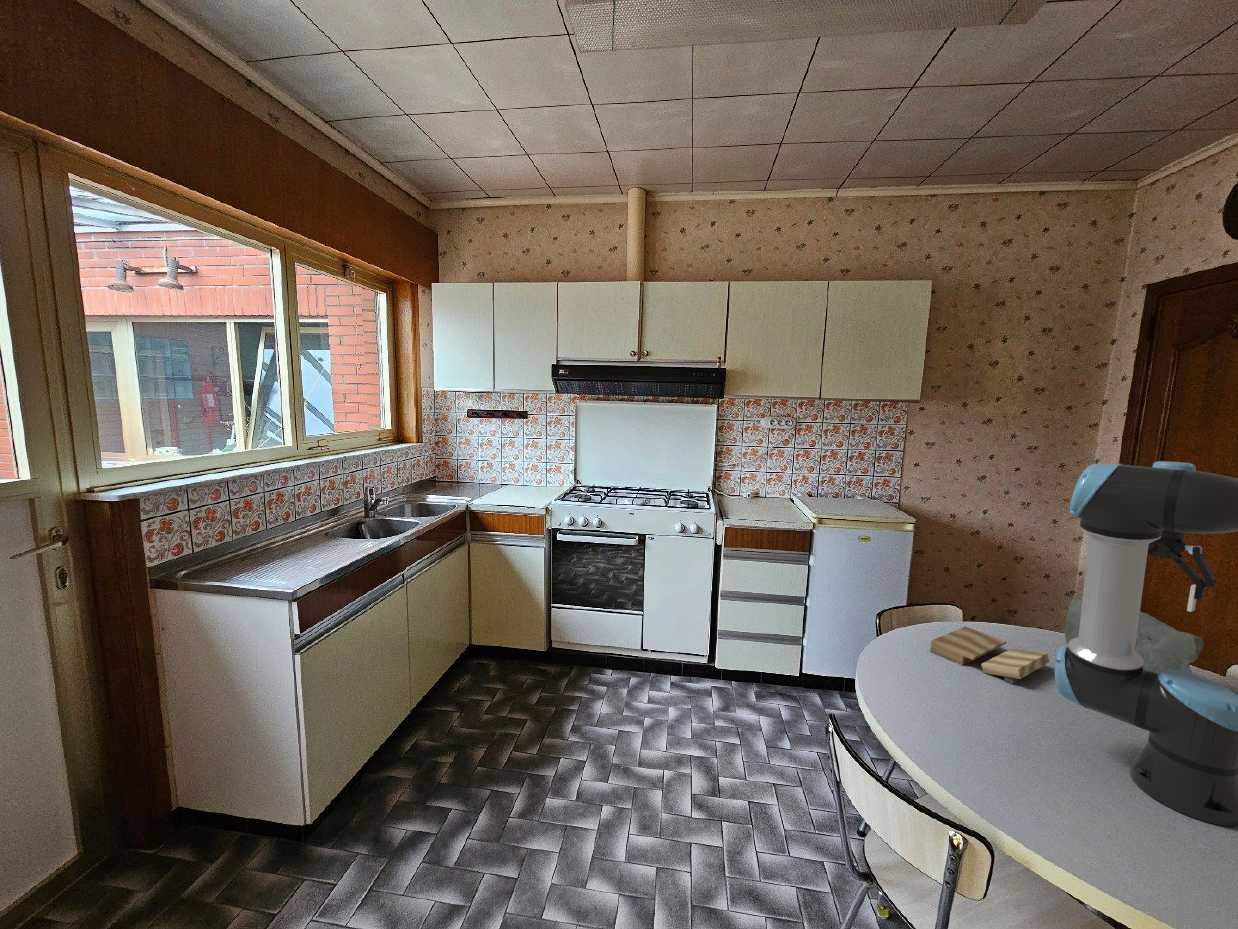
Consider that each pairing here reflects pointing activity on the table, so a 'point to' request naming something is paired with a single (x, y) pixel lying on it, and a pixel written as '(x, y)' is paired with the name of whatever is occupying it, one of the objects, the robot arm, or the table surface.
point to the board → (964, 645)
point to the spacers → (1012, 679)
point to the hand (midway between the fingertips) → (1152, 601)
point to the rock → (1150, 641)
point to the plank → (1015, 663)
